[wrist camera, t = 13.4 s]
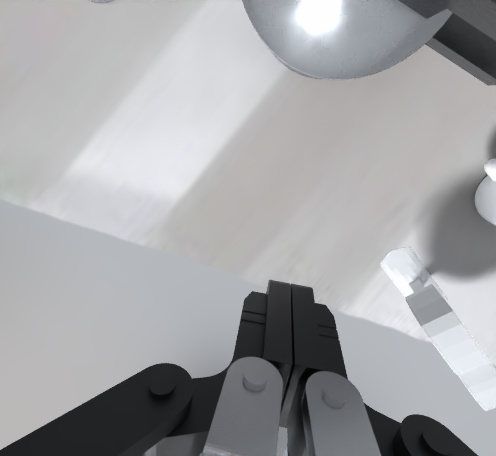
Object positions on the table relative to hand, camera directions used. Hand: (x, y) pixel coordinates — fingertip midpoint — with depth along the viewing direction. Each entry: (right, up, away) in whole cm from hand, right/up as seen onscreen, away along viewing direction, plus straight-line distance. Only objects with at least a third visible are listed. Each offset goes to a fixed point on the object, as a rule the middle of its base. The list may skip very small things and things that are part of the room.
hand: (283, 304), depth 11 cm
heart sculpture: (+25, -6, +38) cm, 46 cm away
